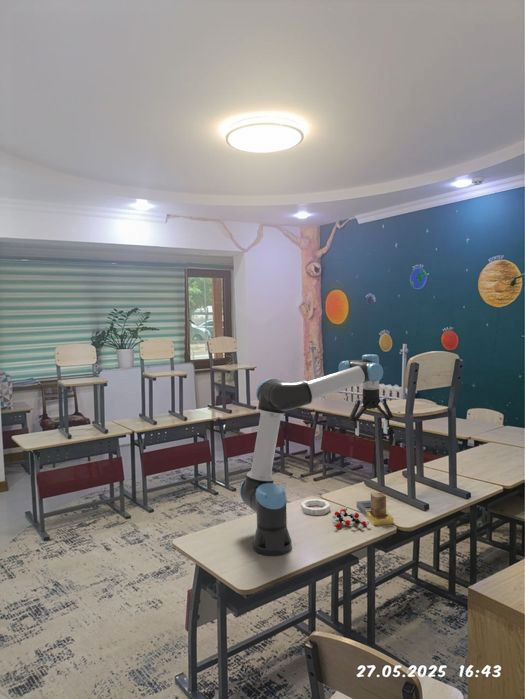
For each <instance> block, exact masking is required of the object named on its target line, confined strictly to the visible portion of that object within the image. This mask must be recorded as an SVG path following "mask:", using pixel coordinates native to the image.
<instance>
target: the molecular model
mask: <svg viewBox="0 0 525 699" xmlns="http://www.w3.org/2000/svg"><path fill="white" fill-rule="evenodd" d="M347 511H348V507H346V506H345V507H343V508H342V509H340V511H335V512H334V514H333V515H332V516H331V517H332V519H338V522H337V520H333V521H332V524H333V525H335V528H336V529H338V530H340V529H341V528H342V524H343V523H344V524H345V526H347V527H348V526H354V525H355V524H356V525H358V527H359V528H360V529H364V527H365V528H366V526H367V525H368V526H369V525H370V521H369V520H366V521H365V520H363V521H361V520H360V519H359V518H360V514H359V513H358V512H357V511H353V512H351V513H350V514H348V512H347ZM344 517H345V518H346V517H350V518H351V520H348V519H346V520H345V519H344Z"/></svg>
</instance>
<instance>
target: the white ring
mask: <svg viewBox="0 0 525 699" xmlns="http://www.w3.org/2000/svg"><path fill="white" fill-rule="evenodd" d="M315 506H318V508H316V507H315ZM313 507H315V508H313ZM300 510H301V511H302V513H303V514H306V515H311V516H321V515H326V514H327V513H329V512H330V511H331V504H330V503H329V502H328V501H327V500H323V499H320V498H313V499H306V500H304V501H302V502H301V503H300Z"/></svg>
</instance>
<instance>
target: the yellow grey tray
mask: <svg viewBox="0 0 525 699" xmlns="http://www.w3.org/2000/svg"><path fill="white" fill-rule="evenodd" d="M356 508H357V509H358V510H359V511H360V513H361V514H362V515H363V516H364V517H365V518H366V519H367V521H369V523H371V525H373V526H381V525H393V524H394V523H395V522H394V521H395V520H394V517H393V516H392V515H391V513H389V512H388V511H387V510H386V516H384V517H374V516H373V515H372V514H371V499H369V500H361V501H356Z"/></svg>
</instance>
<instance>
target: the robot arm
mask: <svg viewBox="0 0 525 699" xmlns="http://www.w3.org/2000/svg"><path fill="white" fill-rule="evenodd" d="M383 375H384V369H383V367H382V365H381V364H380V358H379V355H377V354H371V353H370V354H363V355H362V356H361V359H355V360H353V359H352V360H348V359H347V360H343V361H341V362H339V364H338V371H337V372H334V373H330V374H327V375H324V376H321V377H318V378H315V379H312V380H308V381H307V380H300V381H295V382H288V381H283V380H281V379H276V378H267V379H264V380H262V382H260V383H259V385H258V386H257V389H256V398H257V401H258V405H257V410H258V412H259V413H260V414H259V415H260V416H259V421H258V428H257V432H256V433H257V434H256V439H255V444H254V450H253V457H252V462H251V469H250V470H249V471H248V472H247V473H246V475H245V478H244V480H242V482H241V484H240V487H239V495H240V499H241V500H242V501H243V503H244V504H245V505H246V506H248V507H249V508H250V509H251V510H252V511H253V512H254V513H256V530H255V533H254V537H253V541H252V549H253V550H254V551H255V553H257V554H259V555H264V556H268V557H270V556H272V557H274V556H280V555H284V554H287V553H288V552H290V551H291V549H292V546H293V544H292V543H293V542H292V538H291V534H290V532H289V529H288V526H287V525H288V522H287V521H288V520H287V518H288V517H287V493H286V490H285V488H284V487H283V486H281V485H280V484H278V483H277V484H275V483H274V480H275V478H274V476H273V475H272V470H273V465H274V460H275V453H276V448H277V442H278V436H279V435H278V434H279V430H280V424H281V420H282V417H283V416H285V415H286V411H291V410H296V409H298V408H301V407H304V406H307V405H310V404H312V403H313V400H316V399H320V398H323V397H326V396H328V395H331V394H334V393H337V392H340V391H343V390H346V389H349V388H352V387H356V386H357V385H361V386H362V388H363V389H362V391H361V392H362V399H358V398H357V399H355V404H354V407H353V408H352V411H351V413H350V415H349V417H348V419H349V420H350V421H353V422H352V423H353V426H352V427H353V428H354V430H355V434H354V435H355V436H357V437H359V436H360V422H359V419H360V418H361V417H362V415H363V414H364V412H365V411H366V410H367V409H368V410H371V409H373V410H375V409H377V411H378V412H379V413H380V414H381V415H382V416H383V417H384V418H382V419H383V423H382V424H383V434H385V435H387V434H388V427H389V426H390V420H391V419H393V418H394V415H393V413H392V411H391V409H390V407H389V406H388V403H387V398H385V397H381V398H380V381H381V379H382V378H383ZM362 404H363V405H362ZM380 404H382V406H383V408H384V410H385V411H386V412H385V411H384V410H383V408H382V407H381V405H380ZM361 405H362V406H361ZM360 406H361V408H360ZM359 408H360V409H359Z"/></svg>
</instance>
